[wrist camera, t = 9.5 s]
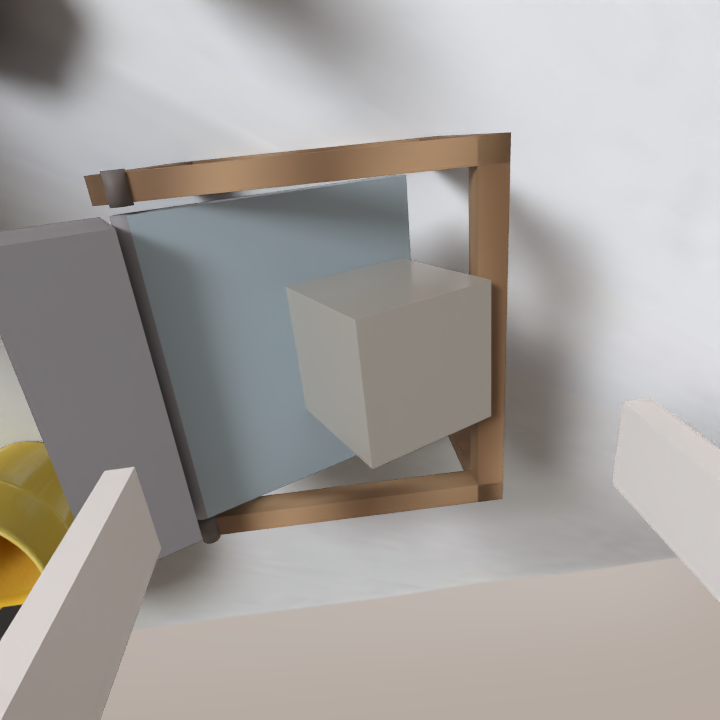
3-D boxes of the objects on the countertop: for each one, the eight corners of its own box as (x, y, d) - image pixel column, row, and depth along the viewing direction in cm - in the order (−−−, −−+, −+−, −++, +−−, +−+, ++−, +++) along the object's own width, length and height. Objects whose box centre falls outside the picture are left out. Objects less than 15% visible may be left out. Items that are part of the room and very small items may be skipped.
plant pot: (132, 440, 35) (69, 542, 26) (102, 550, 39) (37, 673, 30) (-31, 395, 33) (-160, 490, 24) (-47, 516, 37) (-165, 638, 28)
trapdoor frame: (230, 415, 35) (188, 546, 24) (173, 161, 28) (77, 173, 17) (445, 389, 36) (505, 505, 24) (437, 134, 29) (515, 129, 18)
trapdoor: (91, 518, 24) (102, 588, 20) (-21, 228, 19) (-37, 244, 14) (384, 405, 31) (436, 440, 27) (365, 174, 26) (426, 175, 22)
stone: (306, 409, 24) (372, 469, 19) (285, 286, 22) (355, 319, 17) (409, 371, 27) (491, 416, 22) (401, 257, 24) (491, 279, 19)
